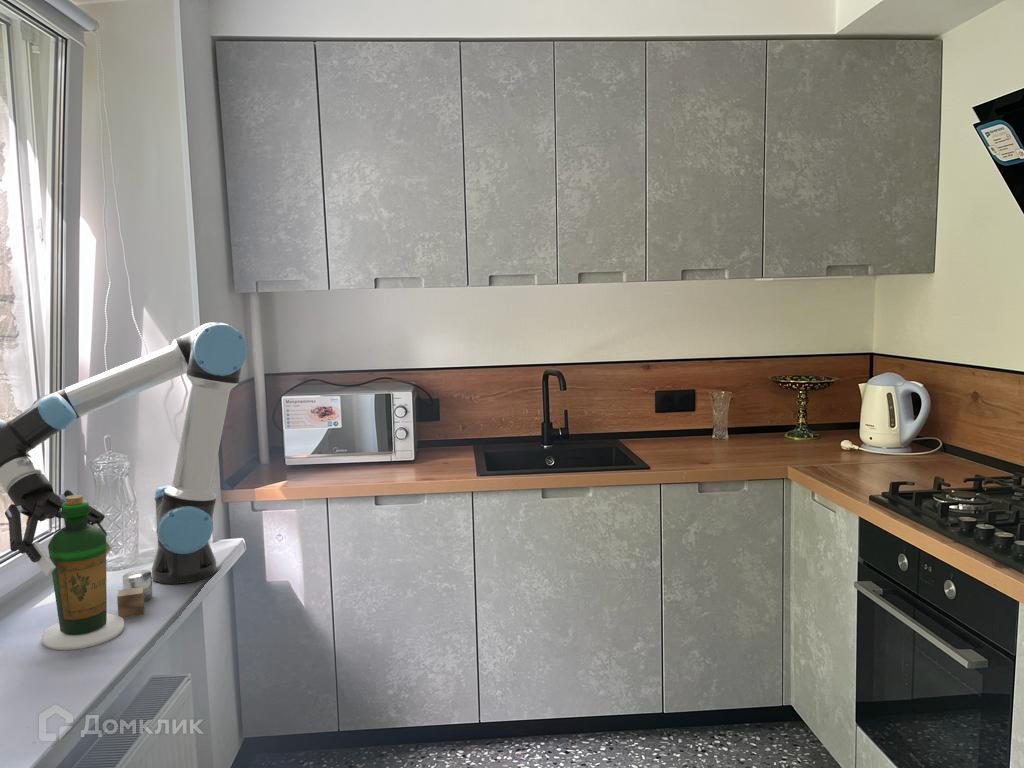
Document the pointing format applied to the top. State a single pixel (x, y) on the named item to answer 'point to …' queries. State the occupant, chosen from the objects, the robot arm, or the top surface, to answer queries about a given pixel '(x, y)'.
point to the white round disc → (82, 635)
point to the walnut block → (130, 602)
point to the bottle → (79, 570)
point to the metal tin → (139, 582)
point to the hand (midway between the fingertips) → (81, 561)
